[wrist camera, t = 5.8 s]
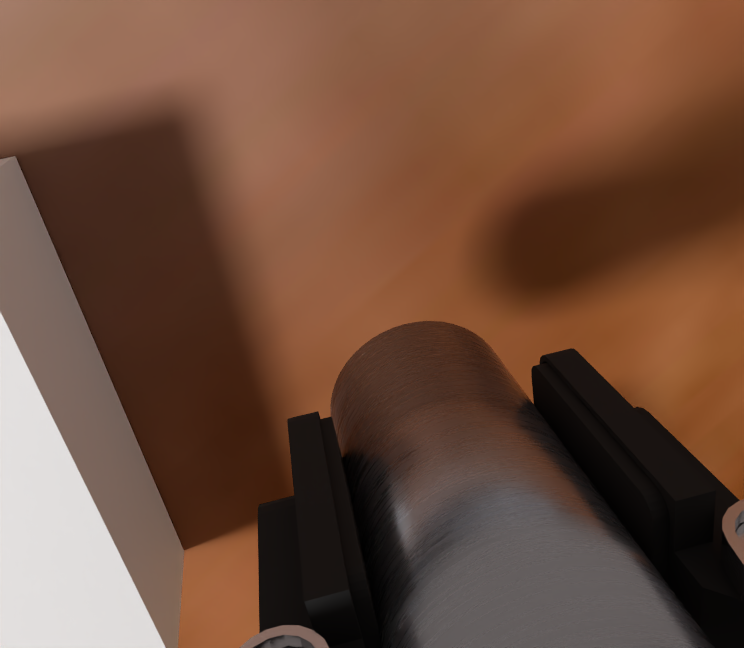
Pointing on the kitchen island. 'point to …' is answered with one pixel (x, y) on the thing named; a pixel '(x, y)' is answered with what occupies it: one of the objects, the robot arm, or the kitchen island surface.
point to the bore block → (70, 467)
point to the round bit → (484, 509)
